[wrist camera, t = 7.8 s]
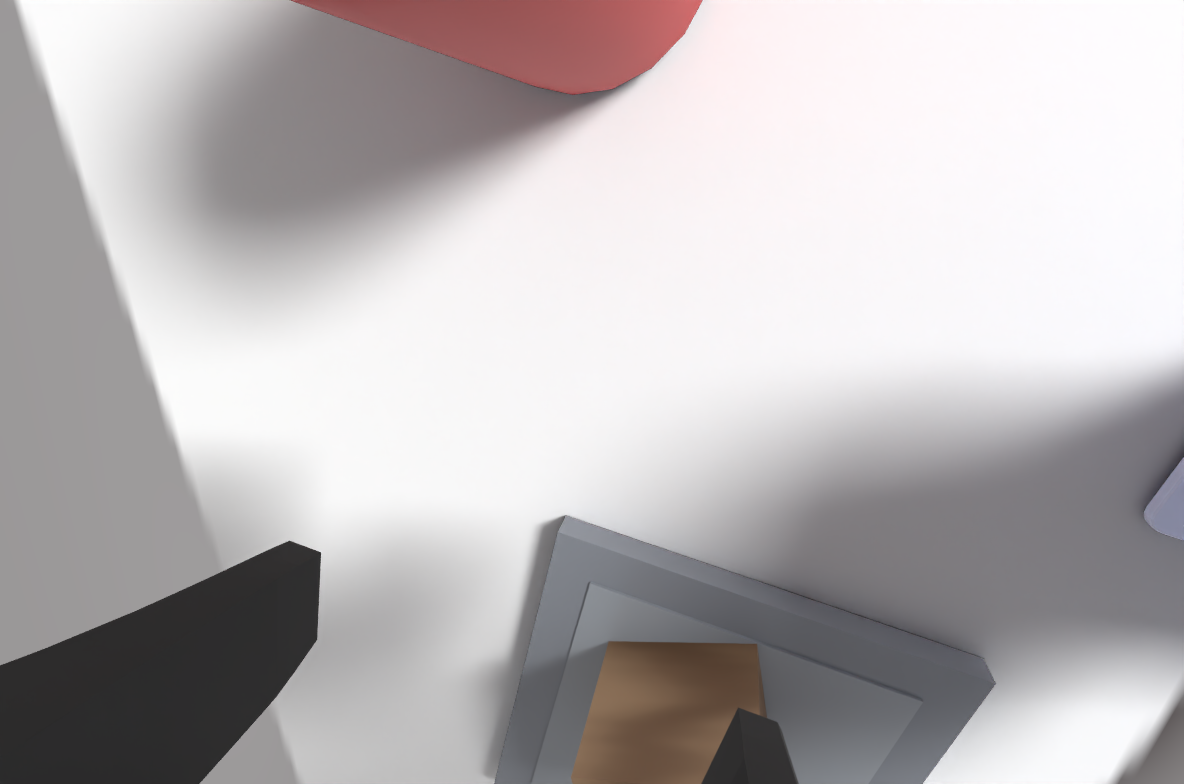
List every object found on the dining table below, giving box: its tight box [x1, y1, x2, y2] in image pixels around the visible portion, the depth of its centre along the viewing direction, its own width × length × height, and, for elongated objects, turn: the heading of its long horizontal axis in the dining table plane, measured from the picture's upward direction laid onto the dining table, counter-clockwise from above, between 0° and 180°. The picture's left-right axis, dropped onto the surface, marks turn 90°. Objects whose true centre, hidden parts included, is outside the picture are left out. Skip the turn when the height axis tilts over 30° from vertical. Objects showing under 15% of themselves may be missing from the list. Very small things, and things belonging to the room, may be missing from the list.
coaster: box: [494, 516, 995, 784], centre depth 22 cm, size 14×14×1 cm
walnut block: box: [571, 641, 767, 784], centre depth 18 cm, size 5×5×5 cm
